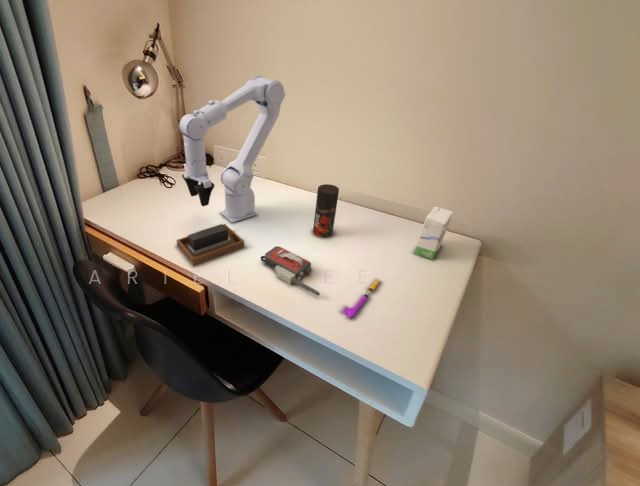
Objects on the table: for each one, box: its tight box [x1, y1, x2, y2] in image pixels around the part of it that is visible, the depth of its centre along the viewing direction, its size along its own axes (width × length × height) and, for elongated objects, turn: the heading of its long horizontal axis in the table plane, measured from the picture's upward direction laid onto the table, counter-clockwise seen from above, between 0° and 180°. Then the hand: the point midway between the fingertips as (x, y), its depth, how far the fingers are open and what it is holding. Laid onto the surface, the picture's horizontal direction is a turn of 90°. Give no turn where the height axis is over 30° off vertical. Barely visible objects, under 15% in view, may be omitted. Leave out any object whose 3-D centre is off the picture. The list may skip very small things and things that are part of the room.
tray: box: [176, 223, 245, 267], centre depth 104 cm, size 16×11×2 cm
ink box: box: [414, 206, 454, 260], centre depth 98 cm, size 8×5×12 cm, turn 140°
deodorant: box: [312, 183, 340, 239], centre depth 105 cm, size 6×6×15 cm
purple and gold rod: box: [342, 279, 380, 319], centre depth 85 cm, size 3×1×16 cm
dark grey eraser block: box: [187, 223, 231, 255], centre depth 103 cm, size 12×4×5 cm, turn 121°
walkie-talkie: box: [260, 246, 320, 296], centre depth 92 cm, size 9×4×20 cm
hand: (199, 200), depth 109 cm, fingers open, 7 cm apart
